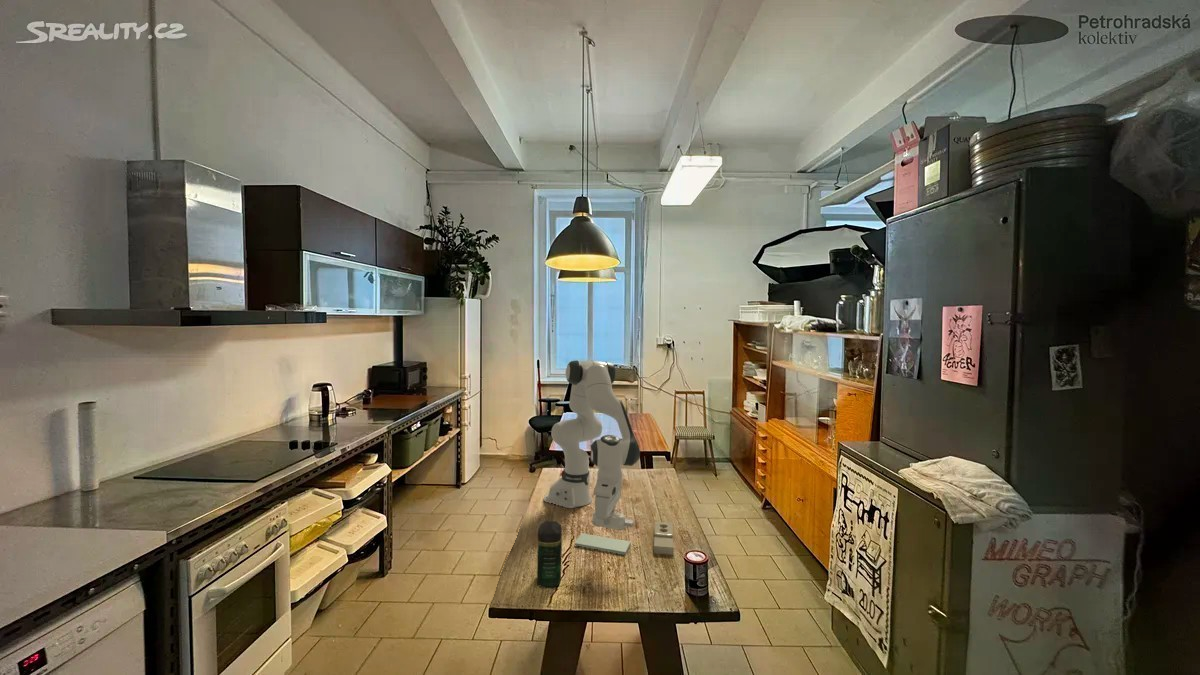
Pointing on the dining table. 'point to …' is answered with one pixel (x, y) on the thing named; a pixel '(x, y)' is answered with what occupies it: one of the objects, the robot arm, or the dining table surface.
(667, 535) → the electrical outlet
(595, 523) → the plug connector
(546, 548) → the coffee jar
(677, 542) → the dining table surface
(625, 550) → the sage board
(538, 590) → the dining table surface
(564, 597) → the dining table surface
